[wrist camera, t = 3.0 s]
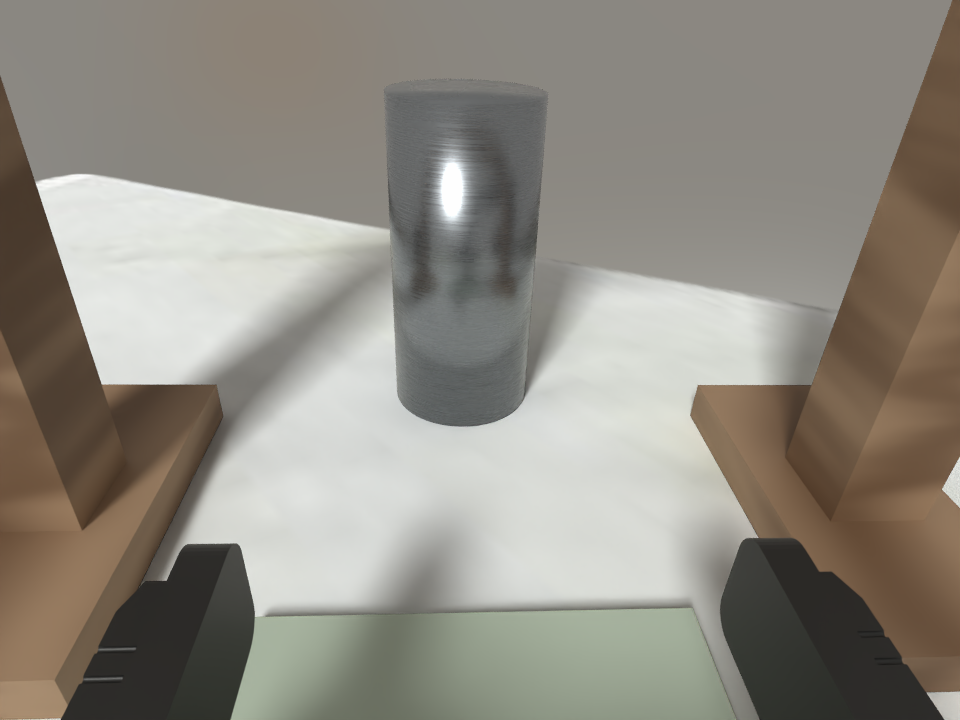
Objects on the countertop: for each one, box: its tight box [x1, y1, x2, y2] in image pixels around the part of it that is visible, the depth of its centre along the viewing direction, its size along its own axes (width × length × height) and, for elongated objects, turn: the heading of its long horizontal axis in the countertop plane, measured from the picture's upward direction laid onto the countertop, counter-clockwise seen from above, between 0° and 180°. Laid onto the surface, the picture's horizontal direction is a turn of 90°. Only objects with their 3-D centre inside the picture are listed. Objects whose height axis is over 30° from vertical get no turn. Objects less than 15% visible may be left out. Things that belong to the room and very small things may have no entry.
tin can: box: [384, 79, 548, 426], centre depth 24 cm, size 6×6×12 cm
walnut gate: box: [0, 0, 960, 720], centre depth 15 cm, size 31×12×24 cm, turn 93°
